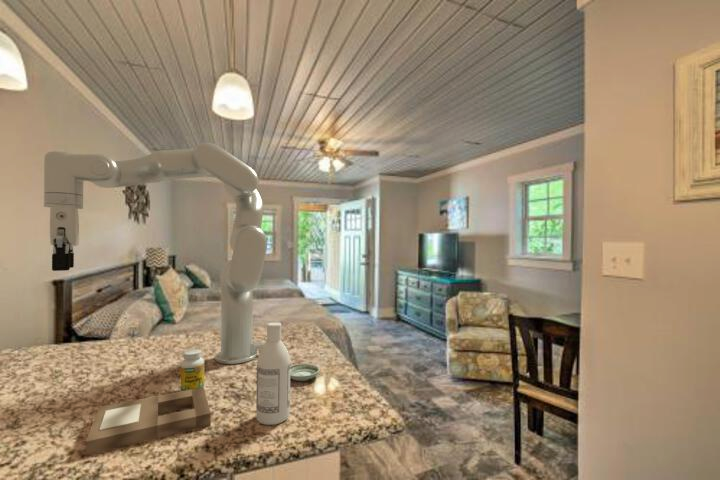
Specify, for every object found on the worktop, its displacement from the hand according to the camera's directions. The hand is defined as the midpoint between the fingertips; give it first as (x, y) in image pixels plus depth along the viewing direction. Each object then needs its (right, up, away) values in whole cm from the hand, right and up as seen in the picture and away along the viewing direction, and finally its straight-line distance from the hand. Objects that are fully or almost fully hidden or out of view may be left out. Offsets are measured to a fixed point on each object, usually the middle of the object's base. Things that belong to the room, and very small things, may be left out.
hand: (63, 269), depth 86 cm
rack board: (+33, -30, -16) cm, 47 cm away
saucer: (+60, -31, +8) cm, 68 cm away
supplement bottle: (+33, -31, -1) cm, 45 cm away
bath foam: (+57, -31, -14) cm, 66 cm away
